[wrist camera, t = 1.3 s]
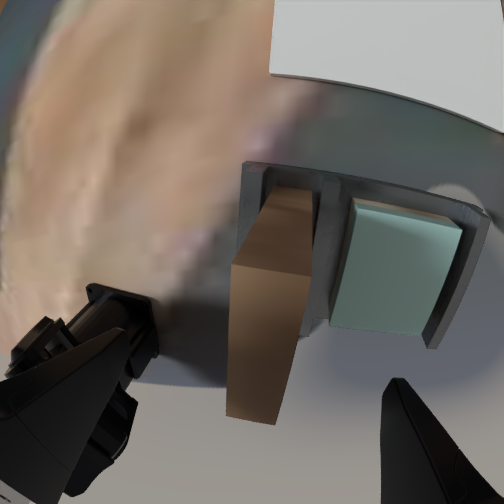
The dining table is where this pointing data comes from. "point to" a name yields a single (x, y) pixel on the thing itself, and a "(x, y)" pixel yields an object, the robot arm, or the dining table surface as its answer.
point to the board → (399, 50)
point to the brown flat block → (268, 304)
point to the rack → (335, 224)
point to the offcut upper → (392, 270)
